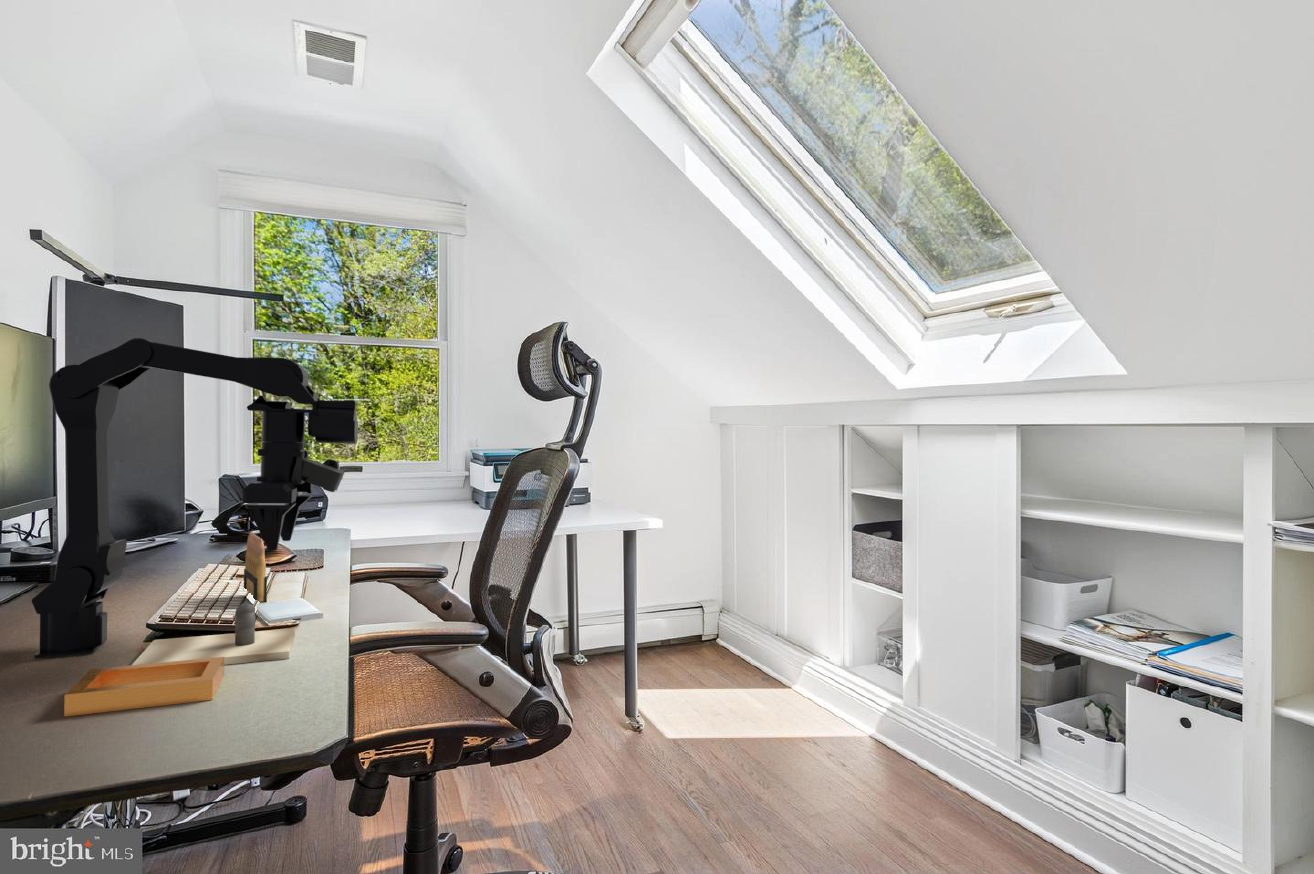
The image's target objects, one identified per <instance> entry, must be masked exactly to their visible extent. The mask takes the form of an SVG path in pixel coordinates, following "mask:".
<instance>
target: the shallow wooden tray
mask: <svg viewBox="0 0 1314 874" xmlns="http://www.w3.org/2000/svg"><path fill="white" fill-rule="evenodd" d="M224 676H225V665H224V657H216V658H205V659H194V660H184V661H173V662H162V663H152V664H141V665H132V664H131V665H122V666H121V665H120V666H112V667H101V668H100V667H99V668H91V669H90V670H88V672H86V674H84V675H83V676H82V677H81V678H80V679H79V680H78V681H77V682H76V683H75V684H74V685H73V686H72V687H71V688H70V689H69V690H68V691H67V692H66V693H64V706H63V707H64V711H63V712H64V714H63V716H64V717H65V718H66V717H73V716H80V715H82V716H83V715H90V714H99V713H100V714H101V713H108V712H117V711H125V710H135V709H143V708H151V707H153V708H154V707H161V706H170V705H179V704H187V703H196V702H204V701H213V699H214V697H215V695H216V693H217V691H218V690H219V687H220V686H221V682H222V681H223V678H224Z"/></svg>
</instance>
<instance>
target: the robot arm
mask: <svg viewBox="0 0 1314 874" xmlns="http://www.w3.org/2000/svg"><path fill="white" fill-rule="evenodd" d="M152 369H159V370H162V371H163V370H164V371H170V372H175V373H182V374H188V375H193V376H200V377H204V378H211V379H216V380H217V379H218V380H223V381H228V382H234V383H238V384H240V385H243V386H245V387H248V388H252V389H255V390H257V391H260V392H264V393H265V394H270V395H272V396H274V397H275V396H276V397H280V398H285V399H291V400H293V401H294V402H295V403H297V404H300V405H304V406H305V405H306V406H312V408H311V409H307V408H306V409H305V408H303V409H302V408H292V406H291V403H290V401H283V400H281V401H280V400H279V401H278V400H268V398H266V396H265V395H258V397H257V398H256V399H255V400H254V401H253V402H251V403H250V404H249V405H247V406H246V409H247V410H248V411H251V412H262V416H261V417H262V420H261V423H262V424H261V446H260V447H261V448H258V449H257V456H258V457H260V475H258V476H257V477H256V481H253V482H250V483H249V484H247V485H246V486H245V487H244V488H242V500H241V501H242V504H245V508H246V509H247V510H248V512H249V514H250V515H251V518H252V520H253V521H254V523H255V526H256V527H257V529H258V532H259V534H260V536H261V538H262V540H263V543H264V545H265V546H266V548H267V550H268V551H270V552H271V551H272V552H274V551H277V550H278V548H279V544H280V539H281V541H283V542H290V541H291V539H292V536H293V533H294V528H295V526H296V523H297V519H298V516H299V512H300V509H301V507H302V505H303V504H305V503H306V502H307V501H308V500H309V499H311V498H312V497H313V495H312V494H313V493H315V486H317V487H320V488H322V490H325V491H326V492H331V493H334V492H335V491H337V490H338V488H339V487H340V485H341V481H342V479H343V477H344V475H345V471H344V470H343V469H340V462H339V461H337V460H335V459H332V458H327V459H326V460H325V461H323V463H322V462H321V461H316V460H313V459H311V458H309V453H310V452H309V450H307V448H305V430H306V427H305V426H306V414H308V416H307V434H308V437H313V438H314V437H315V443H316V444H337V445H339V444H344V445H345V444H346V445H347V444H348V445H349V444H351V445H357V441H358V432H359V421H358V419H357V418H358V412H357V401H356V400H354V399H353V400H352V399H351V400H350V399H344V400H325V399H324V400H323V399H320V398H319V396H318V394H317V393H315V391H314V390H313V389H312V388H311V387H310V385H309V375H308V373H307V371H306V369H305V368H304V367H303V365H301V364H299V363H298V362H296V361H293V360H292V359H289V358H286V357H263V356H262V357H260V356H259V357H258V356H257V357H255V356H254V357H242V356H241V357H237V356H236V357H235V356H231V355H227V354H219V353H214V352H208V351H203V350H197V349H194V348H193V349H192V348H188V347H187V348H186V347H181V346H175V345H170V344H164V343H160V342H159V343H158V342H156V341H151V340H148V339H144V338H142V337H141V338H138V337H135V338H130V339H129V340H128V341H126V342H124V343H122V344H121V345H119V346H118V347H115V348H113V349H110V350H108V351H105V352H103V353H100V354H98V355H95V356H92V357H90V358H89V359H87V360H85V361H83V362H81V363H80V364H68V365H65V366H62V367H60V368H59V369H58V370H57V371H55V372H54V373H53V374H51V376H50V378H49V383H48V387H49V393H50V396H51V401H52V405H53V409H54V412H55V413H56V416H57V417H58V419H59V421H60V423H61V425H62V427H63V428H64V433H65V463H66V464H65V466H66V473H65V474H66V501H67V502H66V505H67V506H66V507H67V508H66V509H67V513H66V514H67V534H66V537H65V539H64V541H63V543H62V546H61V549H60V551H59V553H58V556H57V560H56V566H55V571H54V576H53V577H54V578H53V581H52V582H51V583H50V584H49V585H47V586H46V587H45V588H44V589H43V590H41V591H40V592H39V593H37V594H36V595H35V596H34V597H33V598H32V599H31V604H32V605H33V607H34V608H33V609H34V610H35V612H36V614H37V615H39V650H38V651H37V652H36V653H34V655H33V658H34V659H40V658H51V657H52V658H53V657H62V656H63V657H65V656H74V655H75V656H76V655H88V654H93V653H95V652H96V651H97V650H98V649H99V648H101V646H103V645H104V643H106V642H107V640H108V612H107V611H104V607H103V606H104V605H103V603H104V602H103V601H100V600H102V599H105V598H106V595H107V594H108V591H109V589H110V588H111V587H112V586H115V584H116V583H117V582H119V580H120V579H121V578H122V576H123V571H124V569H125V568H128V567H129V563H128V561H127V558H126V550H127V545H128V544H127V539H126V538H125V539H119V540H116V539H115V538H114V536H113V534H112V532H111V530H110V525H109V524H110V523H109V517H110V516H109V515H110V513H109V484H108V483H109V480H108V479H109V477H108V475H109V474H108V444H107V443H108V441H107V440H108V439H107V438H108V436H107V433H108V432H107V431H108V429H109V426H110V423H111V421H112V419H113V418H114V417H113V416H114V415H115V412H116V409H117V402H118V397H119V391H121V390H123V389H124V388H126V387H129V386H130V385H132V384H133V383H135V382H136V381H137V380H138V379H139V378H141V376H143V375H144V374H145V373H147V372H148V371H150V370H152ZM303 493H306V494H303Z"/></svg>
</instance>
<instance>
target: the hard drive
mask: <svg viewBox="0 0 1314 874" xmlns="http://www.w3.org/2000/svg"><path fill="white" fill-rule="evenodd" d="M257 610H258V614H259V616H261V617H262V618H263V619H264V620H265V621H267V622H268V623H277V622H284V621H289V620H290V621H291V620H296V621H298V623H299V622H304V621H311V620H318V619H323V618H324V613H323V612H322V611H320V609H317V608H316V607H315V606H314V605H312V604H311V603H309V602H308V600H307V601H306V600H305V599H304V598H302V597H297V598H290V599H282V600H275V601H274V600H273V601H267V602H266V603H259V604H257ZM259 616H258V617H259Z"/></svg>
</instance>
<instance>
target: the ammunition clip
mask: <svg viewBox="0 0 1314 874" xmlns="http://www.w3.org/2000/svg"><path fill="white" fill-rule="evenodd" d="M265 554H266V553H265V542H264V540H263V538H262V537H260V536H258V535H256V534H255V533H253V532H252V531H250V532H249V533H248V536H247V541H246V551H245V562H244V563H245V564H244V565H245V566H244V569H243V589H244V588H245V589H247V591H249V593H251V595H253V598H254V599H255V600H258V601H259V602H260V603H266V602H268V601H267V599H268V596H267V595H268V587H267V586H268V582H267V581H268V578H267V575H266V574H267V572H266V566H267V565H266V564H267V562H266V558H265V557H266V555H265Z"/></svg>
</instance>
